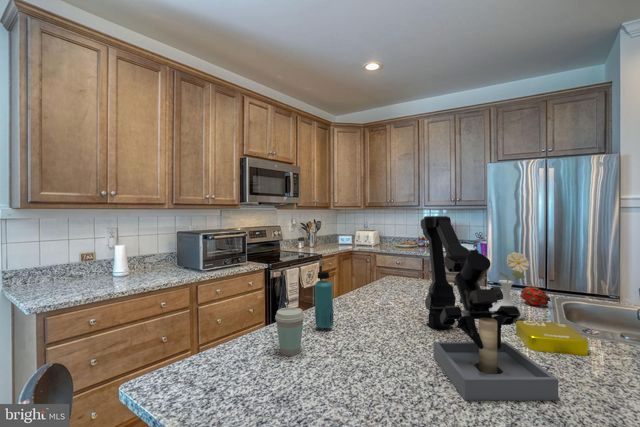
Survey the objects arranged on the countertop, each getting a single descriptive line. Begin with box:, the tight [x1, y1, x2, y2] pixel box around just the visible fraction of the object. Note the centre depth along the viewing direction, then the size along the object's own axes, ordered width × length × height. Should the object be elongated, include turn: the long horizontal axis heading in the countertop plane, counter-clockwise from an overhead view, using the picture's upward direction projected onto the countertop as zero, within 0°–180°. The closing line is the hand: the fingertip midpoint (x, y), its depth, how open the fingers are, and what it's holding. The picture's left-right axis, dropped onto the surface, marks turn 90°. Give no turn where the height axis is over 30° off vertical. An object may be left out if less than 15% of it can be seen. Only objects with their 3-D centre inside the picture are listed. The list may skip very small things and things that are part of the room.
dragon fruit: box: [519, 285, 552, 308], centre depth 137 cm, size 8×8×12 cm
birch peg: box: [478, 318, 497, 374], centre depth 80 cm, size 4×4×13 cm
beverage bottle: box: [314, 270, 335, 329], centre depth 113 cm, size 6×7×20 cm
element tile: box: [515, 320, 589, 357], centre depth 99 cm, size 15×15×5 cm
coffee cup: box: [274, 306, 305, 357], centre depth 95 cm, size 8×8×12 cm
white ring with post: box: [375, 294, 395, 308], centre depth 142 cm, size 9×8×4 cm
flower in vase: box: [489, 251, 530, 321], centre depth 122 cm, size 13×11×25 cm
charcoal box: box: [433, 341, 559, 401], centre depth 80 cm, size 20×20×4 cm
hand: (490, 348), depth 78 cm, fingers closed on birch peg, 4 cm apart
